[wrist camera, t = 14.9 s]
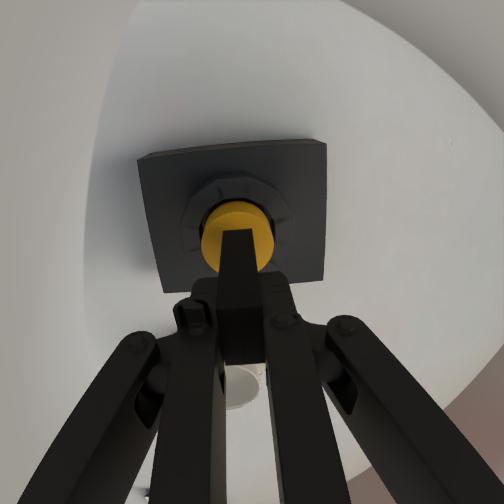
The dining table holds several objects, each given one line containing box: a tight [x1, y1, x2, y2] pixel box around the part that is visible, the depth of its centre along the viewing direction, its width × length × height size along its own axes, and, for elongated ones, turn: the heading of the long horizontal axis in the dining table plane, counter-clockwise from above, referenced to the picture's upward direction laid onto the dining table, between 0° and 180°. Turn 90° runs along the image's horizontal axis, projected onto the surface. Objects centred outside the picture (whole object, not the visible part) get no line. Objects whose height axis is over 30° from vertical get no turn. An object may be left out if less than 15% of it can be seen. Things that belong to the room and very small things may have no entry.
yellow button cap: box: [201, 201, 274, 273], centre depth 17 cm, size 4×4×2 cm
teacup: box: [224, 363, 266, 410], centre depth 27 cm, size 10×10×5 cm
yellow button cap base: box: [137, 139, 327, 293], centre depth 20 cm, size 12×10×5 cm
